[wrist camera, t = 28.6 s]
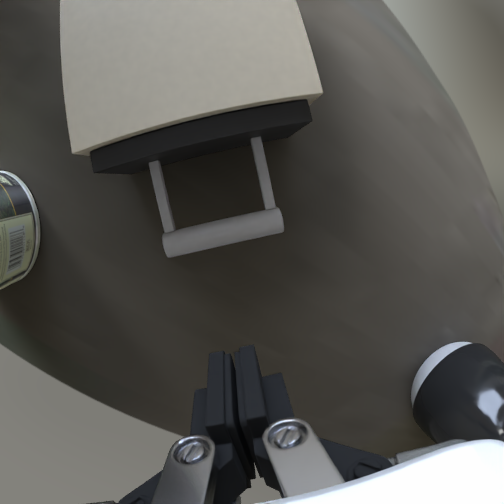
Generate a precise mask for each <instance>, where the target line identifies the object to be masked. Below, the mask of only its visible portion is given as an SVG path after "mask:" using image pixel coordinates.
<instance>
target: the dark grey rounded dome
mask: <svg viewBox="0 0 504 504" xmlns="http://www.w3.org/2000/svg"><path fill="white" fill-rule="evenodd" d="M411 402H412V407H413V417H414V420H415V421H416V423H417V424H418V426H419V427H420V428H421V430H422V431H423V432H424V433H425V434H426V435H427V436H428V437H429V438H431V439H432V440H433V441H434V442H435V443H436V444H438V443H441V442H445V441H448V440H452V439H463V440H466V441H468V442H469V441H475V440H484V439H493V440H499V441H502V442H504V363H503V362H502V361H501V360H500V359H499V357H498V356H497V355H496V354H495V353H494V352H493V351H492V350H490V349H489V348H488V347H486V346H485V345H483V344H479V343H469V342H455V343H451V344H448V345H446V346H443V347H442V348H440V349H438V350H437V351H435V352H434V353H433V354H432V355H430V356H429V357H428V358H427V359H426V361H425V362H424V363H423V364H422V366H421V367H420V369H419V370H418V372H417V374H416V376H415V378H414V381H413V385H412V390H411Z"/></svg>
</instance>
